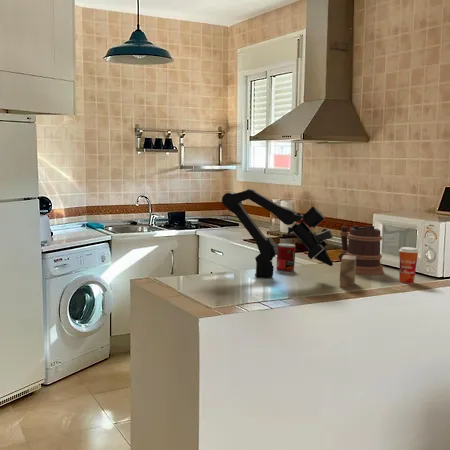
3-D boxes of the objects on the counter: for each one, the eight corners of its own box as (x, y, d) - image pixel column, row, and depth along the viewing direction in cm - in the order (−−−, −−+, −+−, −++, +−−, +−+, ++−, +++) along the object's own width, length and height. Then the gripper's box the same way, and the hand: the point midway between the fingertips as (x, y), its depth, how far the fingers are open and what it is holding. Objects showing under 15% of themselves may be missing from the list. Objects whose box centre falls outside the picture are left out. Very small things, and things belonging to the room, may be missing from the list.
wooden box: (338, 286, 225) (340, 258, 224) (341, 282, 234) (342, 254, 233) (352, 288, 223) (354, 259, 222) (354, 283, 233) (356, 256, 232)
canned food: (288, 271, 251) (289, 246, 250) (272, 269, 256) (274, 244, 255) (297, 269, 257) (298, 245, 256) (282, 267, 262) (283, 242, 261)
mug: (351, 264, 278) (354, 222, 275) (392, 272, 260) (395, 228, 258) (325, 267, 266) (328, 223, 264) (366, 276, 248) (369, 229, 246)
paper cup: (395, 282, 239) (397, 248, 237) (398, 279, 245) (401, 246, 244) (414, 284, 235) (417, 250, 233) (418, 281, 242) (420, 248, 240)
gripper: (318, 224, 220) (345, 255, 219) (323, 220, 238) (349, 249, 236) (296, 243, 223) (323, 274, 222) (303, 237, 241) (328, 266, 239)
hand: (332, 265), depth 230 cm, fingers closed
